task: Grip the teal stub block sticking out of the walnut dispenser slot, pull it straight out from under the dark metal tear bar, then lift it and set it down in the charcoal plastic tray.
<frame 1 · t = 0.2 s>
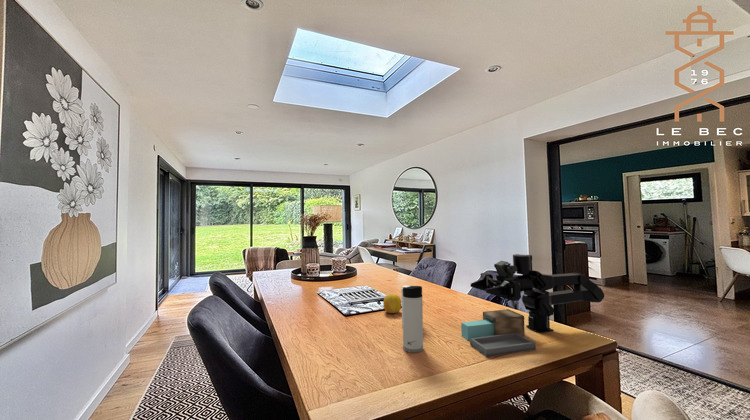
hand: (478, 288, 105), 17 cm above the table, tool horizontal, fingers open, 9 cm apart
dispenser: (503, 333, 107), on the table
tray: (502, 347, 95), on the table
stub: (480, 337, 105), on the table
fruit: (392, 313, 132), on the table
travel mug: (413, 349, 95), on the table
syrup box: (409, 324, 117), on the table
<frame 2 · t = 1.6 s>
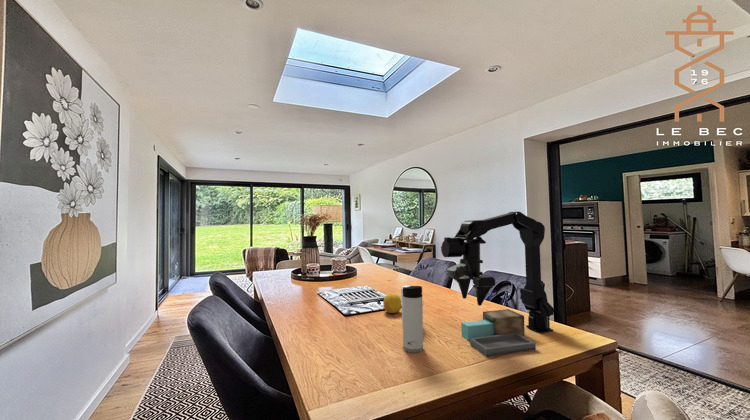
hand: (471, 301, 104), 12 cm above the table, tool pointing down, fingers open, 9 cm apart
nothing on the table moved.
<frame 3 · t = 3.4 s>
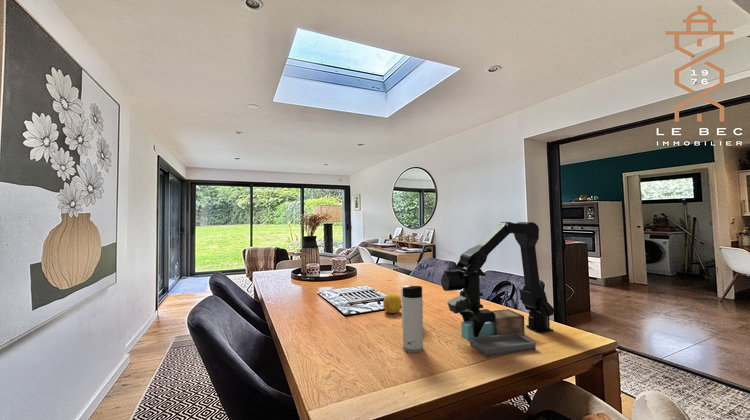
hand: (472, 334, 104), 1 cm above the table, tool pointing down, fingers closed on stub, 4 cm apart
stub: (480, 336, 105), on the table, touching gripper
everything else where it was.
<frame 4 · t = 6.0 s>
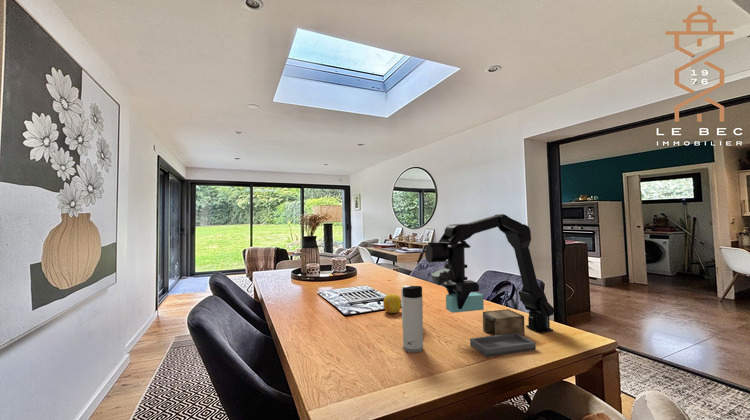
hand: (456, 307, 102), 11 cm above the table, tool pointing down, fingers closed on stub, 4 cm apart
stub: (464, 309, 103), point 10 cm above the table, touching gripper
everything else where it was.
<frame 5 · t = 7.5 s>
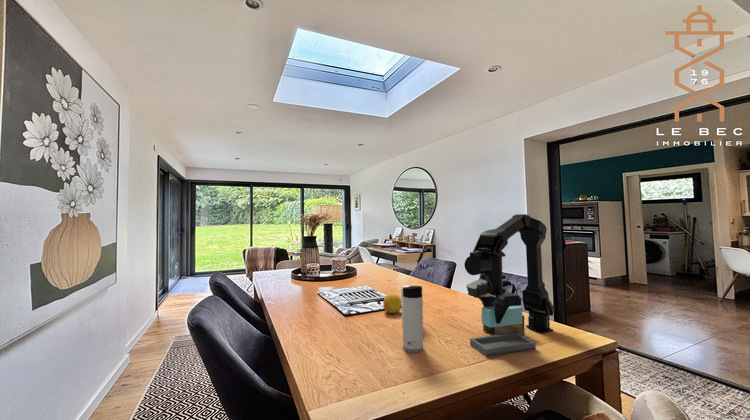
hand: (493, 321, 95), 9 cm above the table, tool pointing down, fingers closed on stub, 4 cm apart
stub: (502, 323, 96), point 8 cm above the table, touching gripper
everything else where it was.
when the fingers open (3 cm above the table, at t = 8.7 s): stub drops 1 cm, resting on tray.
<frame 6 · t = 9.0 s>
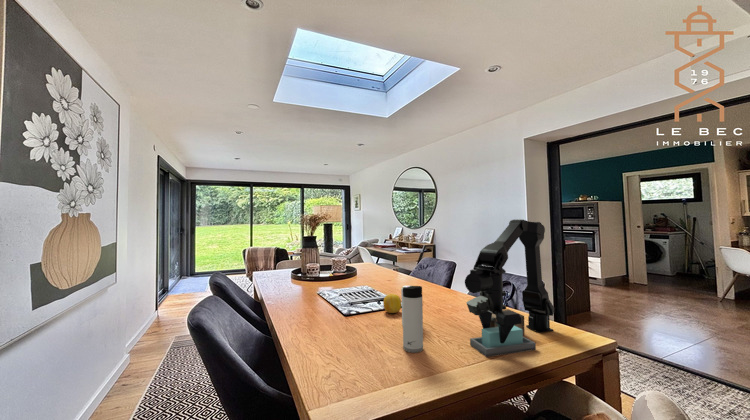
hand: (493, 338, 95), 3 cm above the table, tool pointing down, fingers open, 8 cm apart
stub: (502, 345, 95), point 1 cm above the table, touching tray
everything else where it was.
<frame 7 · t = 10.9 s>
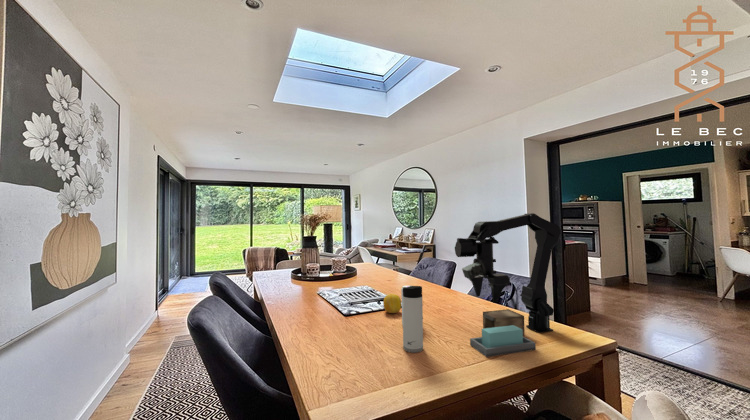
hand: (486, 299, 109), 12 cm above the table, tool pointing down, fingers open, 9 cm apart
nothing on the table moved.
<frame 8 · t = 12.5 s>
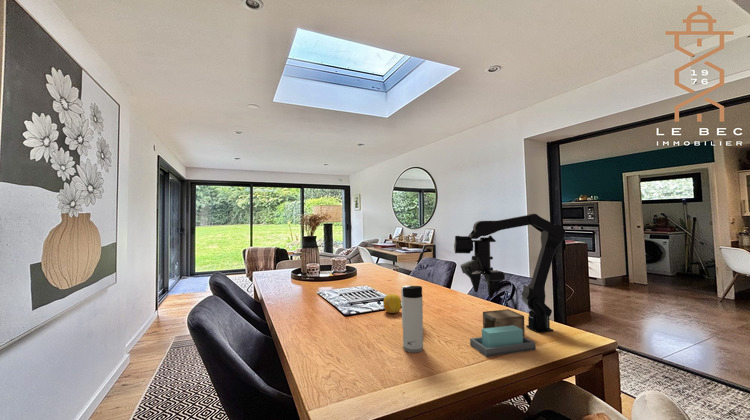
hand: (483, 294, 114), 12 cm above the table, tool pointing down, fingers open, 9 cm apart
nothing on the table moved.
at the end: stub inside the target area on the tray (0.0 cm from its centre), point 0.8 cm above the tray's base; stub moved 10.0 cm from its start; the gripper is holding nothing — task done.
